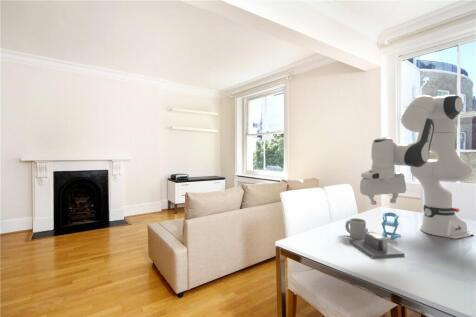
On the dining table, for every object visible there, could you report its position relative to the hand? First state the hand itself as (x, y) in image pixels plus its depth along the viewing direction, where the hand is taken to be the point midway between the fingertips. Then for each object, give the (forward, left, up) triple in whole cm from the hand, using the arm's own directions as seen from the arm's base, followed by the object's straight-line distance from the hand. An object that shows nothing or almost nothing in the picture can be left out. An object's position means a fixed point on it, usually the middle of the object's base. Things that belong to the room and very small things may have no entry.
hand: (383, 203), depth 106 cm
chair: (-13, -12, -20) cm, 27 cm away
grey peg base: (+5, +1, -20) cm, 21 cm away
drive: (+5, +1, -19) cm, 20 cm away
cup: (+5, -14, -20) cm, 25 cm away
